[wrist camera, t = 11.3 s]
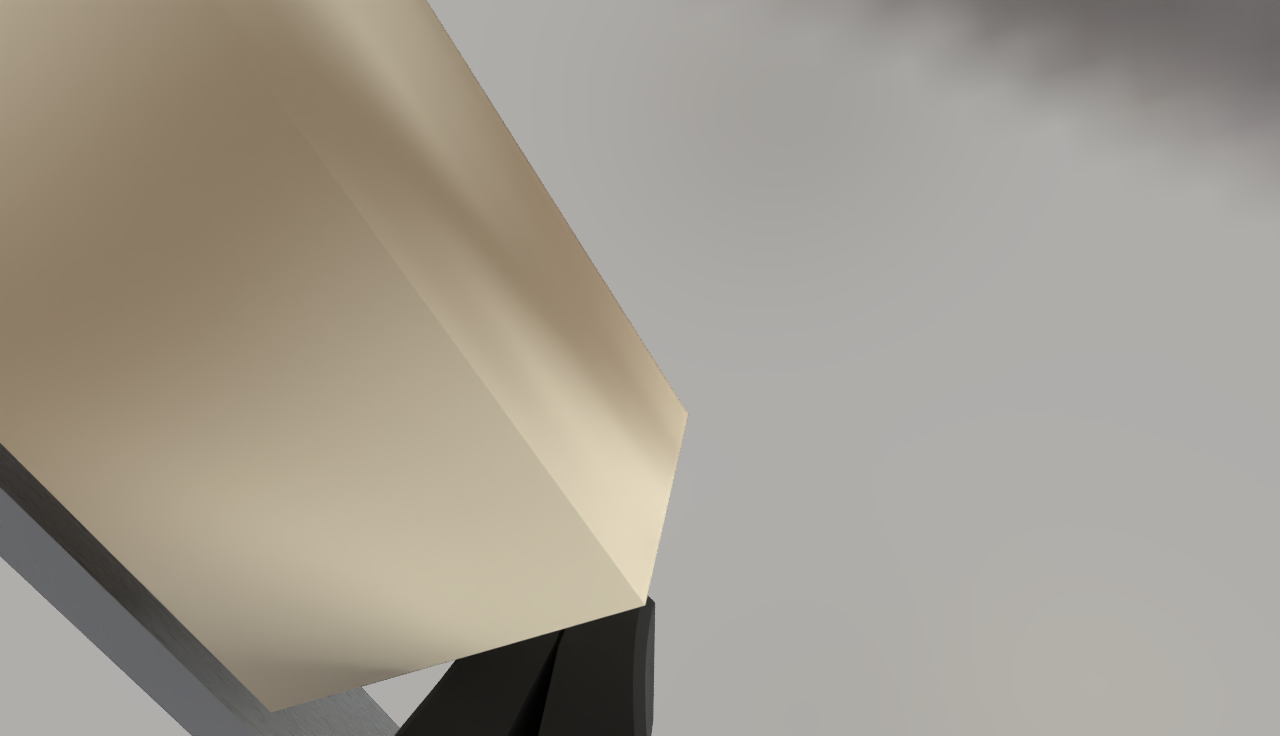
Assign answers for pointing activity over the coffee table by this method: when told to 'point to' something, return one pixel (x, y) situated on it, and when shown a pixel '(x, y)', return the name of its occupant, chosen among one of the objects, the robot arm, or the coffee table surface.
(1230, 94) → the coffee table surface
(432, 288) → the cream rectangular block
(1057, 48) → the coffee table surface
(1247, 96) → the coffee table surface
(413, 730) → the robot arm
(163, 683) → the socket
